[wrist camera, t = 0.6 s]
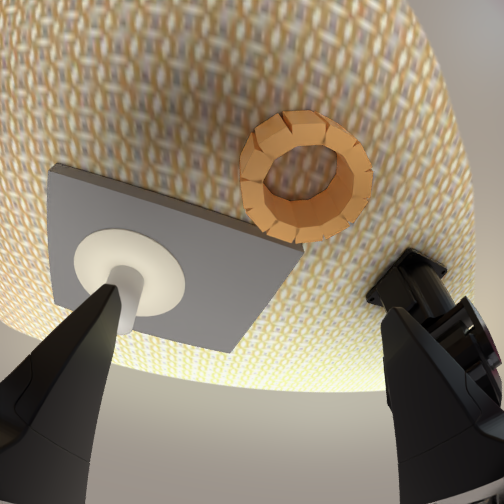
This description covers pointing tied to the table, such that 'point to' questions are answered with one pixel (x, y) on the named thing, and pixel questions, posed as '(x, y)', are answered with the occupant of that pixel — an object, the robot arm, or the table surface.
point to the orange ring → (320, 206)
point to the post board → (161, 259)
